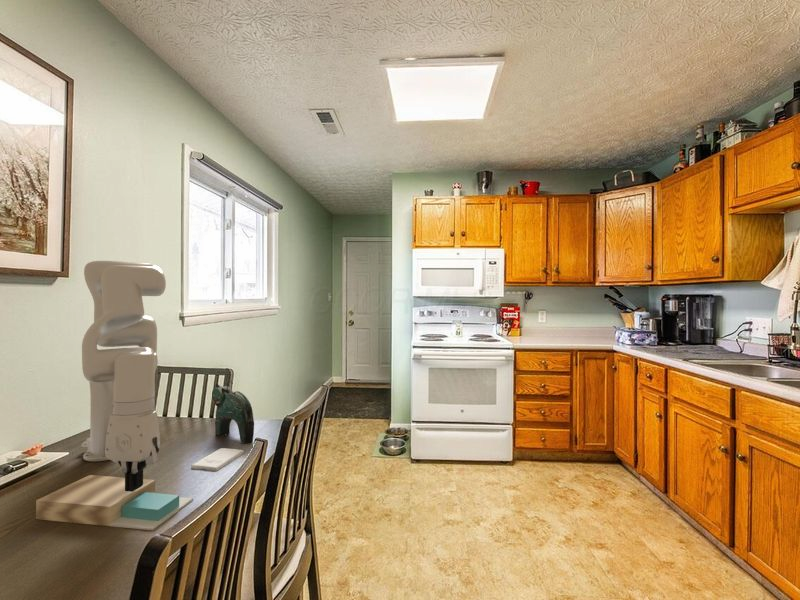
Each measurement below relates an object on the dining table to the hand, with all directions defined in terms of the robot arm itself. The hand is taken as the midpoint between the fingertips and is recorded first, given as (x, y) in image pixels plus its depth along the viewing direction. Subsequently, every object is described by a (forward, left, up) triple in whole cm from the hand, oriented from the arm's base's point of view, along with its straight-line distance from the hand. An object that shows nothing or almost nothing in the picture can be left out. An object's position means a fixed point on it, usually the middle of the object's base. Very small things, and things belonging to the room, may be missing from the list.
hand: (134, 488), depth 84 cm
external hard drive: (+2, +27, -6) cm, 28 cm away
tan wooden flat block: (-9, 0, -5) cm, 10 cm away
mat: (+5, 0, -5) cm, 7 cm away
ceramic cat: (-4, +45, -5) cm, 45 cm away
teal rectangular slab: (+5, 0, -4) cm, 7 cm away
